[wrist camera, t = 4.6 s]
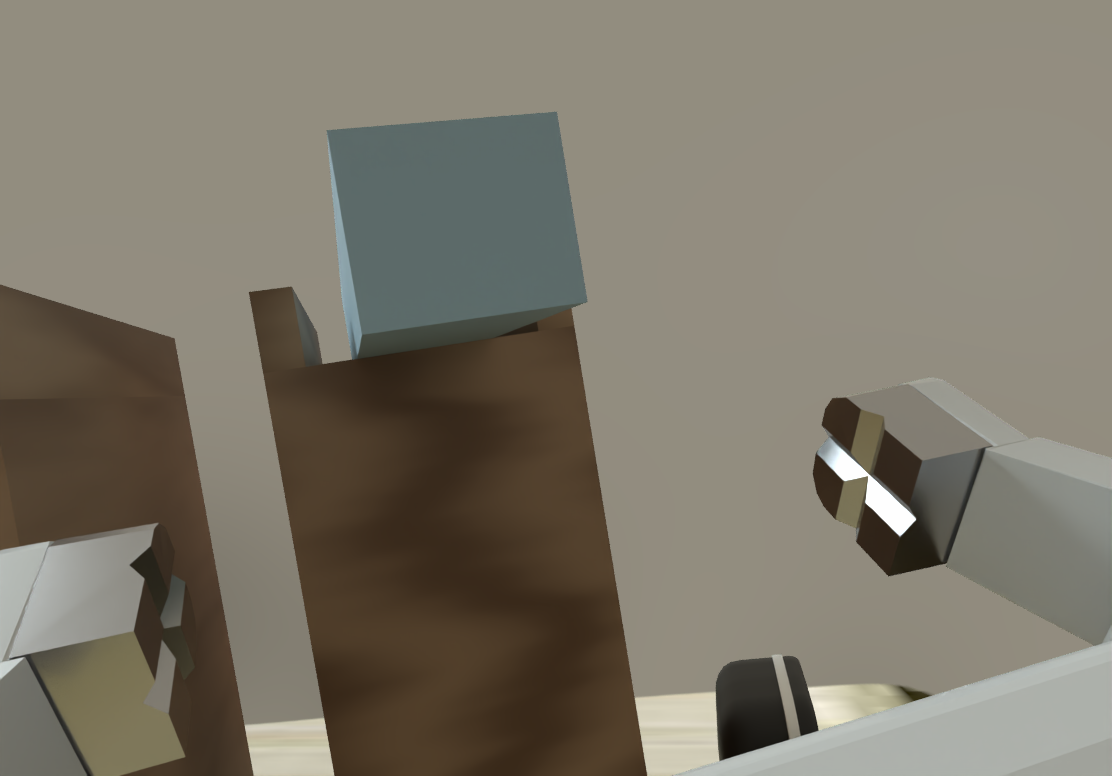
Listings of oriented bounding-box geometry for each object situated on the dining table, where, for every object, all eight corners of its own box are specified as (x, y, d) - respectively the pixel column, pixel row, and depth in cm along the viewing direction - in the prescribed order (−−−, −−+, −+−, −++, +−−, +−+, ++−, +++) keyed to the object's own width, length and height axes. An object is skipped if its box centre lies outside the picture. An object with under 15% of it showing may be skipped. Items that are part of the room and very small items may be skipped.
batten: (362, 335, 11) (327, 130, 11) (354, 372, 33) (342, 301, 33) (587, 302, 12) (556, 112, 12) (437, 359, 34) (425, 289, 34)
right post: (440, 1375, 20) (248, 292, 19) (402, 963, 35) (292, 335, 34) (722, 1238, 22) (561, 252, 21) (575, 903, 37) (475, 309, 36)
